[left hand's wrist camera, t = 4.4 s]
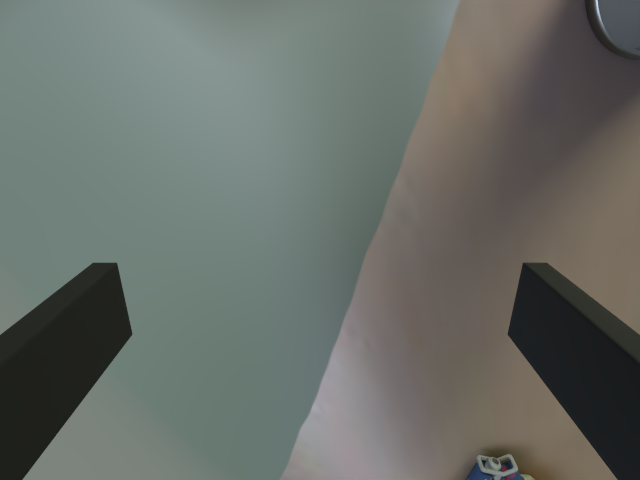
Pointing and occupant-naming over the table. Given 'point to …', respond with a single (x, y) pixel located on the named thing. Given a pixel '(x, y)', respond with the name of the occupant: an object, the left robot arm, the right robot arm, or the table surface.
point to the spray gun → (496, 469)
